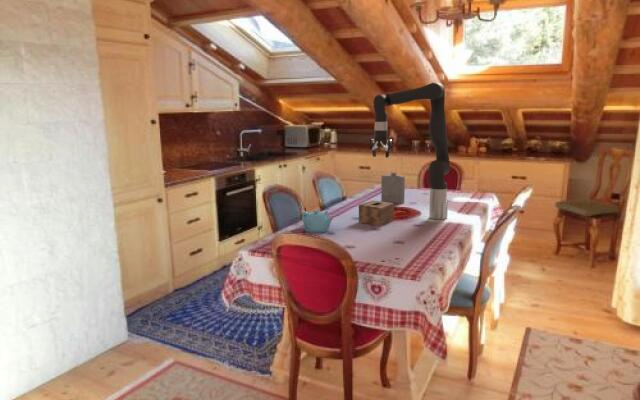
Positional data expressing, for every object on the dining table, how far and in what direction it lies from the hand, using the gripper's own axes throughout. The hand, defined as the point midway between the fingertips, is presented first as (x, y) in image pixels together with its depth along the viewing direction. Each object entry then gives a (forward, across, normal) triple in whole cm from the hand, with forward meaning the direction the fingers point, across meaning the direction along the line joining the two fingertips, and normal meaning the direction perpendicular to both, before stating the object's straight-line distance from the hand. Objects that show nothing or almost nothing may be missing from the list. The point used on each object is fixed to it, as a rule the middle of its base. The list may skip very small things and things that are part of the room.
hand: (380, 157), depth 284 cm
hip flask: (+33, +7, -27) cm, 44 cm away
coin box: (+33, -11, +22) cm, 41 cm away
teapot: (+33, +5, +55) cm, 64 cm away
